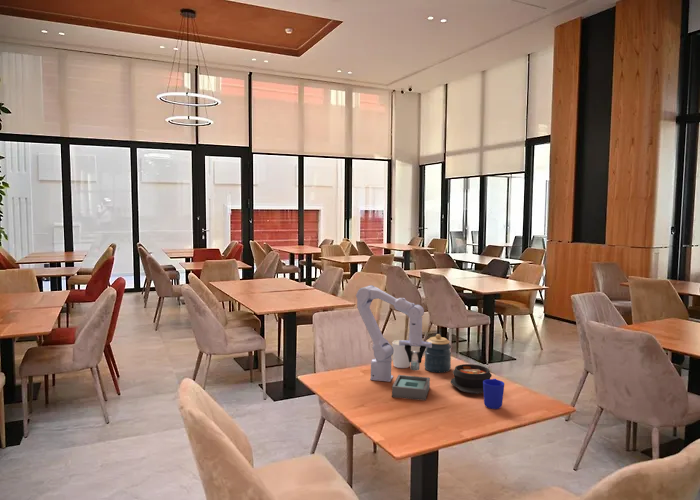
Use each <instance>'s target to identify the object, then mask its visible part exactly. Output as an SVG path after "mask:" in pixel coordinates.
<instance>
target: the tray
mask: <svg viewBox="0 0 700 500" xmlns="http://www.w3.org/2000/svg"><path fill="white" fill-rule="evenodd" d="M430 379H431V378H430V377H427V376H426V377H425V376H417V375H405V374H398V375H397V376H396V378H395V380H394V382H393V384H392V386H391V390H392V391H391V397H392V398H398V399H406V400H417V401H426V400H427V397H428V394H429V391H430V388H431V387H430V385H431V384H430V381H431V380H430Z"/></svg>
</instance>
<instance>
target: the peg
mask: <svg viewBox="0 0 700 500" xmlns="http://www.w3.org/2000/svg"><path fill="white" fill-rule="evenodd" d="M419 359H420V350H415V349H414V350H411V362H410V370H412V371H420V365H421V363H419Z"/></svg>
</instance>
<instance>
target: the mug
mask: <svg viewBox="0 0 700 500" xmlns="http://www.w3.org/2000/svg"><path fill="white" fill-rule="evenodd" d="M483 391H484V393H483V404H484V406H485V407H486V408H488V409H492V410H498V409H501V408H502V406H503V401H504V392H505V382H504V381H502V380H499V379H496V378H492V379H491V378H490V379H487V380H484V381H483Z"/></svg>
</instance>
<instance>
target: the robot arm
mask: <svg viewBox="0 0 700 500" xmlns="http://www.w3.org/2000/svg"><path fill="white" fill-rule="evenodd" d="M355 298H356V306H357V307H356V308H357V310H358V312H359V316H360V317H361V319H362V321H363V323H364V326H365V328H366V330H367V333H368V335H369V336H370V337H369V338H371V341H372V347H371V348H372V350H373V357H374V358H372V359H371V362H370V380H371V381H378V382H379V381H380V382H390V383H391V381H392V379H393V378H394V375H392V361H393V358H392V357H393V353H394V349H393V345H391V343H390V342H389V341H388V339H386V338H385V337H384V335H383V333H382V331H381V328H380V327H379V325H378V323H377V321H376V318H375V316H374V314H373V312H372V309H371V305H372V302H373V300H378V299H379V300H380V301H383V302H385V303H388V304H390V305H392V306H393V308H394V310H397V311H398V312H401V313H403V314H404V315H407V317H408V318H409V323H408V325H409V326H408V327H409V328H408V329H409V331H408V332H409V333H408V339H407V340H405V339H399V340H400V341H399V346H402V345H405V350H406V352H407V355H408V359H409V362H410V363H411V351H412V347H419V351H420V359H419V363H420V364H422V359H423V356H424V354H425V350H426V347H429V348H432V343H431V342H427V341H423V317H422V316H424V314H425V308H424V307H423V306H422V305H420V304H416V303H415V302H410V301H408V300H406V298H405V297H398V298H396V297H395V296H393V295H391V294H389V293H387V292H385V291H384V290H382V289H381V288H379V287H378V286H374V285H371V284H370V285H366V286H363V287H360V288H359V289H358V290H357V291H356V294H355Z"/></svg>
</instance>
